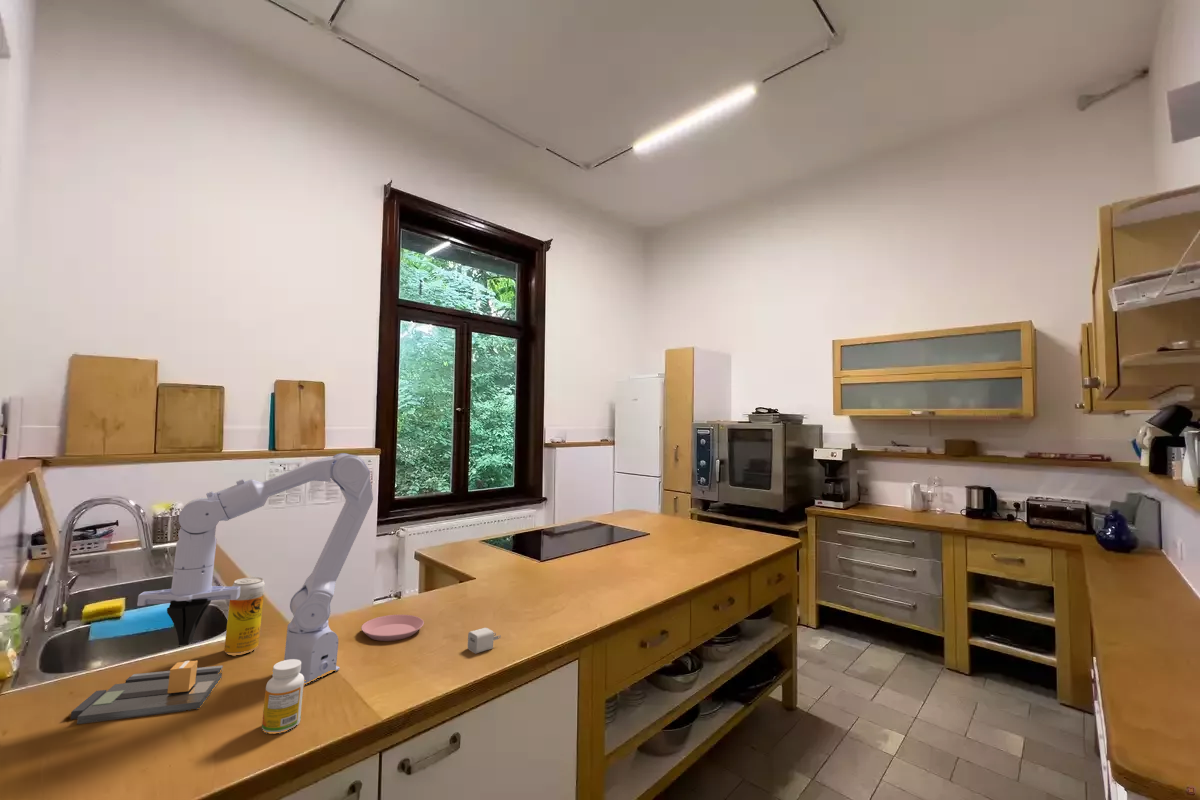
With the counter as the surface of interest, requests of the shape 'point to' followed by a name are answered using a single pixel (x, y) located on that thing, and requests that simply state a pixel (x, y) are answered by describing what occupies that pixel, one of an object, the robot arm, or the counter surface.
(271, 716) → the supplement bottle
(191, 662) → the cardboard box
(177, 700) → the panel
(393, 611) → the counter surface
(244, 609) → the beer can
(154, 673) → the flat board
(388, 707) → the counter surface
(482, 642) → the usb wall charger
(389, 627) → the plate
